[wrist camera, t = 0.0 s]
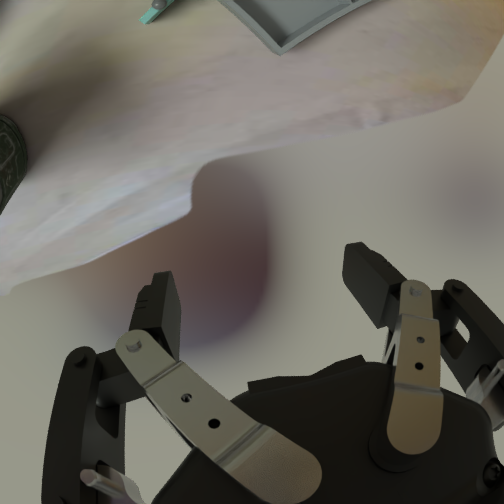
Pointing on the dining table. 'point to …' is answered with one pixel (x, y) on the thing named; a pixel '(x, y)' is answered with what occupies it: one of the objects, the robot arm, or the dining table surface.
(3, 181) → the canister
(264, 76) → the dining table surface
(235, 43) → the dining table surface
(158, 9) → the bar
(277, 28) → the tray
